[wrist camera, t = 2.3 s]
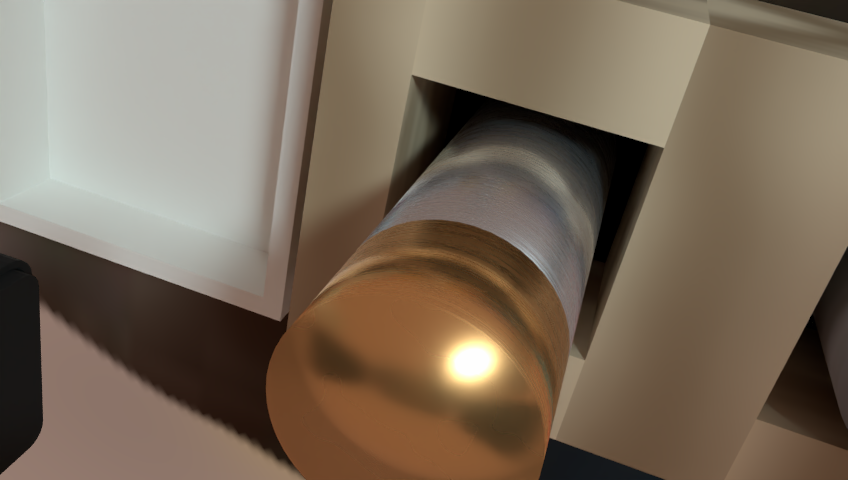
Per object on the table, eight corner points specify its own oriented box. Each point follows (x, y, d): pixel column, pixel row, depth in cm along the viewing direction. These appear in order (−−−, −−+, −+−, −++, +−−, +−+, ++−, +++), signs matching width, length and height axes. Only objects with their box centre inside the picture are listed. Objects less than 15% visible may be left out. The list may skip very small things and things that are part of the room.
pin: (637, 101, 20) (583, 358, 9) (590, 237, 22) (502, 576, 11) (487, 58, 21) (282, 255, 10) (454, 194, 22) (253, 477, 12)
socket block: (1224, 118, 16) (1469, 234, 11) (972, 464, 21) (1064, 657, 16) (419, -86, 20) (321, -68, 14) (356, 256, 24) (266, 363, 19)
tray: (388, -139, 19) (342, -139, 17) (322, 274, 25) (280, 321, 22) (38, -224, 21) (-53, -236, 18) (51, 181, 27) (-18, 215, 24)
